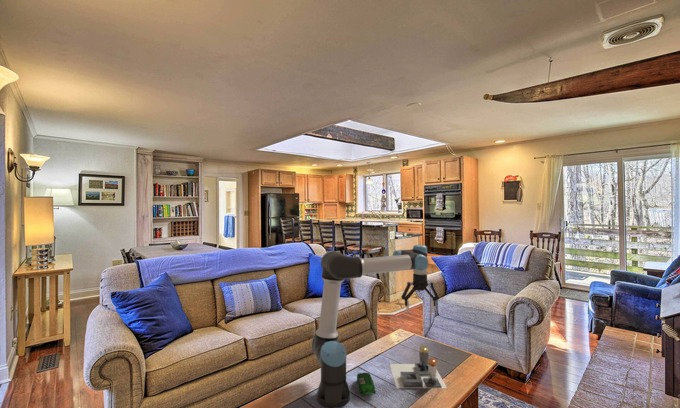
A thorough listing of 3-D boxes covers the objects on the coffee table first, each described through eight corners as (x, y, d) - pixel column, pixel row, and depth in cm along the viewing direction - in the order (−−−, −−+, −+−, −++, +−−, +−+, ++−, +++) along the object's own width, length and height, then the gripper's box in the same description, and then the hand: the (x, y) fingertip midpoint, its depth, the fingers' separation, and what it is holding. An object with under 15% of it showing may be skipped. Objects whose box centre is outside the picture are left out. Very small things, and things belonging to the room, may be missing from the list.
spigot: (418, 368, 166) (418, 346, 166) (427, 368, 166) (427, 346, 166) (420, 373, 161) (420, 350, 161) (429, 373, 161) (429, 350, 161)
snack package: (360, 400, 141) (360, 388, 141) (355, 380, 157) (355, 369, 157) (376, 399, 142) (376, 388, 142) (369, 379, 158) (369, 369, 158)
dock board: (396, 389, 149) (396, 388, 149) (389, 365, 171) (389, 363, 171) (447, 389, 149) (447, 388, 149) (433, 365, 171) (433, 364, 171)
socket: (418, 375, 160) (418, 371, 160) (414, 366, 168) (414, 363, 168) (434, 375, 160) (434, 371, 160) (429, 366, 168) (429, 363, 168)
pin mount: (403, 387, 149) (403, 382, 149) (400, 376, 158) (400, 371, 158) (422, 387, 149) (422, 382, 149) (418, 376, 158) (418, 371, 158)
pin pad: (426, 387, 149) (426, 386, 149) (423, 379, 156) (423, 378, 156) (441, 387, 149) (441, 386, 149) (437, 379, 156) (437, 378, 156)
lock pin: (427, 380, 154) (427, 358, 154) (434, 379, 155) (434, 358, 154) (429, 384, 150) (430, 362, 150) (437, 384, 151) (437, 362, 150)
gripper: (398, 275, 168) (398, 314, 169) (445, 275, 168) (444, 314, 169) (396, 271, 176) (396, 309, 176) (440, 271, 176) (440, 309, 176)
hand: (420, 311), depth 172 cm, fingers open, 13 cm apart
